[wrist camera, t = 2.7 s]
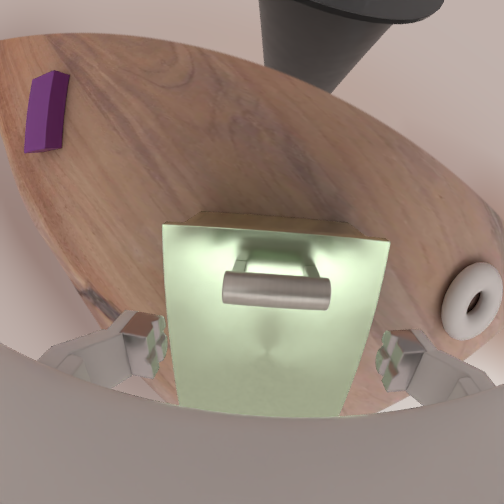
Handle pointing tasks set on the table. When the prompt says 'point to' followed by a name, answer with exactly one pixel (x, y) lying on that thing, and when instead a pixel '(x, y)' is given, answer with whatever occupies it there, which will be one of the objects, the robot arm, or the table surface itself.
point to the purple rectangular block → (46, 112)
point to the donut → (460, 297)
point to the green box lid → (268, 316)
